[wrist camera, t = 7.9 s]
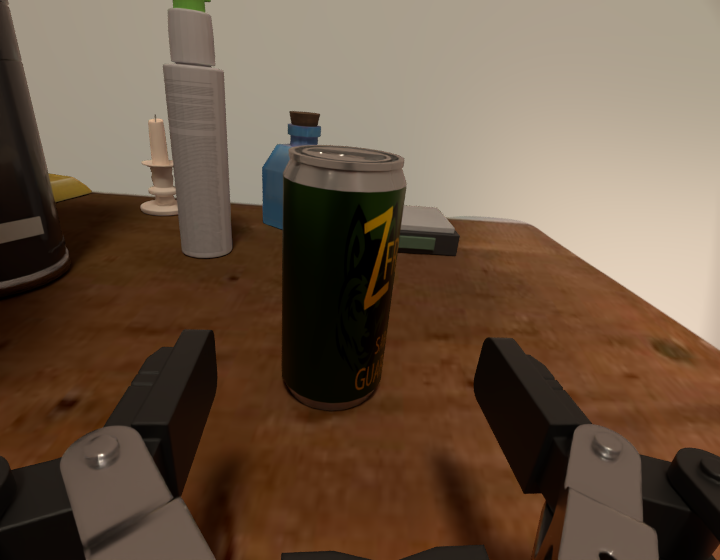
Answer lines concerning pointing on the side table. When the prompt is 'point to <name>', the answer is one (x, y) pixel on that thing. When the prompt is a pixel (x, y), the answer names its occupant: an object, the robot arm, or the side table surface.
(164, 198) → the candle
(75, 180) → the yellow flat block
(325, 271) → the beer can
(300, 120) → the perfume bottle
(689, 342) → the side table surface
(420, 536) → the side table surface
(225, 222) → the bottle
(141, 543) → the robot arm
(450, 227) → the kitchen scale
